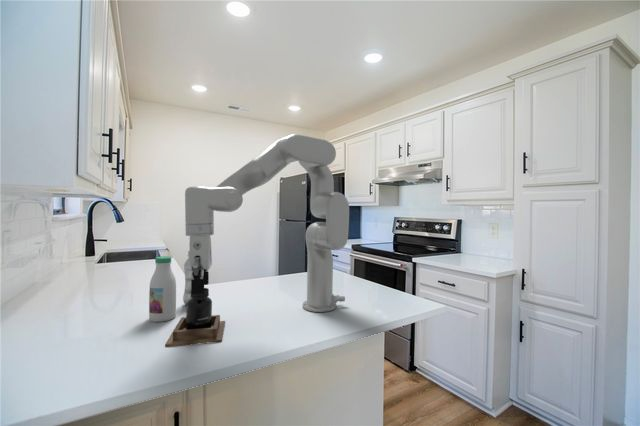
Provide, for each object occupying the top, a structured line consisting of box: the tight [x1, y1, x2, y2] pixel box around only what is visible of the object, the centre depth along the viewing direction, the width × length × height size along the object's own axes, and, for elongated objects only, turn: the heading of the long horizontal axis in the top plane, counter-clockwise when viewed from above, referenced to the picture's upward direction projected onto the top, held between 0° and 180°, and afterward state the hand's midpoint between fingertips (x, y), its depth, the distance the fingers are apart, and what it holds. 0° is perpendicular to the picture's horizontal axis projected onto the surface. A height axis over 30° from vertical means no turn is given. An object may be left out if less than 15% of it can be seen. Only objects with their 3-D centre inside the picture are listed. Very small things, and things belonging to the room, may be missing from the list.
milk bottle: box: [148, 255, 177, 323], centre depth 97 cm, size 8×8×20 cm
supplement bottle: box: [185, 287, 213, 330], centre depth 86 cm, size 7×7×12 cm
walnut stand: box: [164, 314, 226, 348], centre depth 85 cm, size 14×14×3 cm
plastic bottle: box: [182, 250, 192, 306], centre depth 111 cm, size 6×7×20 cm
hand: (200, 289), depth 85 cm, fingers open, 9 cm apart
